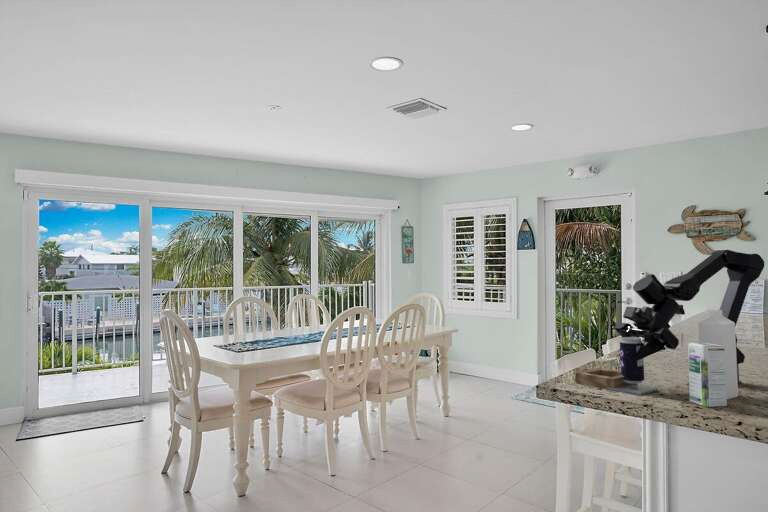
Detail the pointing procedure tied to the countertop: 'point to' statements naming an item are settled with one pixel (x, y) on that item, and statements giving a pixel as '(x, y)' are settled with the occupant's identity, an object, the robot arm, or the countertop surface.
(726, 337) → the milk
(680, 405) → the countertop surface
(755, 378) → the countertop surface
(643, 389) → the slate coaster
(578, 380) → the walnut pocket block
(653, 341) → the robot arm
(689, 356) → the syrup box
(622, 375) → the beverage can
